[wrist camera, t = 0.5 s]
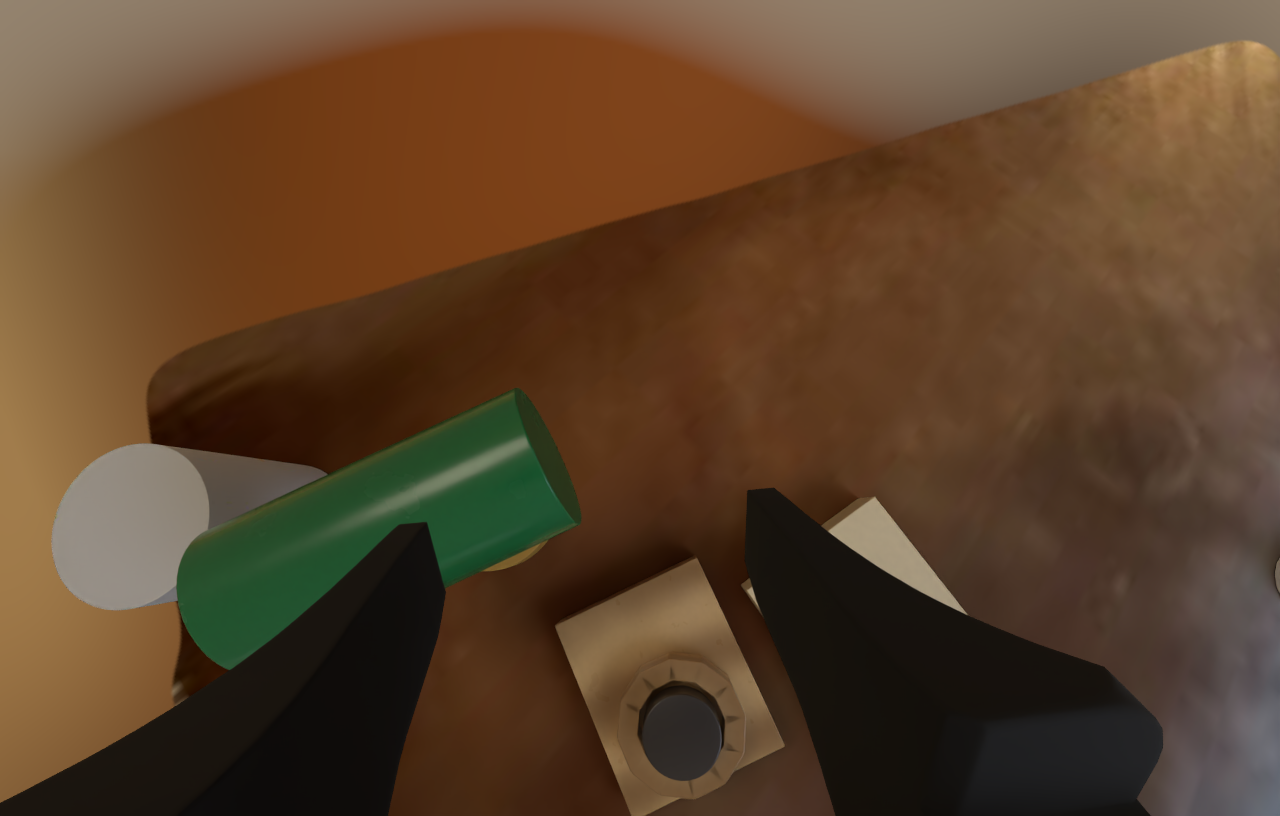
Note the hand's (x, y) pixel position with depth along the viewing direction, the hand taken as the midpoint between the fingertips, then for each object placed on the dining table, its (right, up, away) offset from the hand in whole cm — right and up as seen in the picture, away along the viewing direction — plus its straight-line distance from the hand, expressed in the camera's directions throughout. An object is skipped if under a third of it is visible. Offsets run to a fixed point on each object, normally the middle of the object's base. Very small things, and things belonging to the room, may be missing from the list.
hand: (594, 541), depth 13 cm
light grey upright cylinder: (-24, -5, +27) cm, 36 cm away
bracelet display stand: (-9, -4, +26) cm, 28 cm away
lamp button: (+3, -15, +20) cm, 25 cm away
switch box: (+3, -14, +24) cm, 28 cm away
